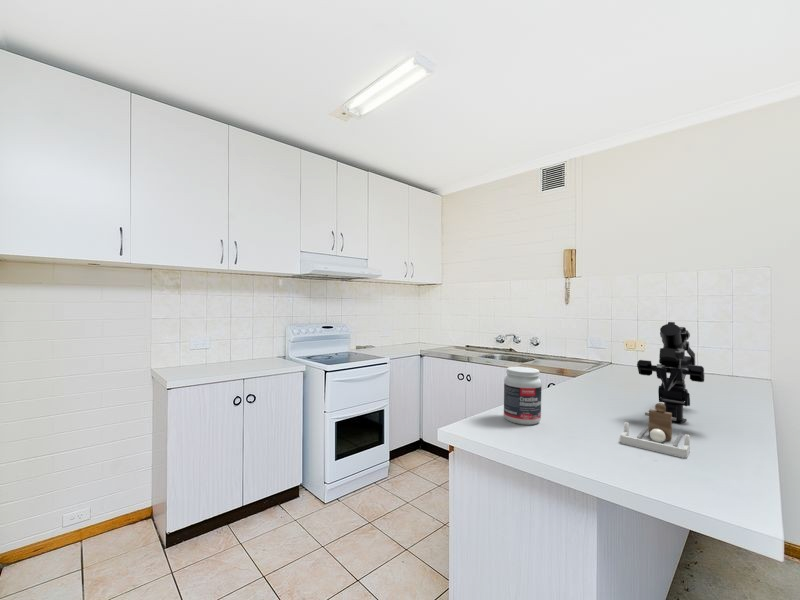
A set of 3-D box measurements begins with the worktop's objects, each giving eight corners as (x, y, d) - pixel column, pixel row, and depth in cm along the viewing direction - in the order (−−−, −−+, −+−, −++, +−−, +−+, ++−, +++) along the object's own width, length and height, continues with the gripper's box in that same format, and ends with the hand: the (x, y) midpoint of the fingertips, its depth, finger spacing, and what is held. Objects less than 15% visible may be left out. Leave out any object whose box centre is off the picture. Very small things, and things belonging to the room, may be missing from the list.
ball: (652, 438, 117) (652, 425, 117) (667, 442, 114) (667, 429, 114) (647, 441, 115) (647, 428, 115) (662, 445, 112) (662, 432, 112)
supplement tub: (527, 428, 127) (528, 374, 127) (496, 418, 137) (497, 368, 137) (548, 421, 135) (549, 370, 135) (517, 412, 145) (517, 365, 145)
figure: (645, 433, 122) (646, 399, 122) (676, 439, 116) (676, 404, 116) (643, 435, 119) (644, 401, 119) (674, 442, 114) (675, 407, 114)
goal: (624, 438, 118) (624, 421, 118) (689, 452, 107) (690, 435, 107) (619, 443, 113) (619, 426, 113) (687, 459, 102) (687, 441, 102)
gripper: (638, 337, 137) (631, 371, 129) (704, 341, 125) (700, 380, 117) (642, 357, 143) (635, 390, 135) (705, 363, 130) (702, 400, 122)
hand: (666, 390), depth 127 cm, fingers closed
